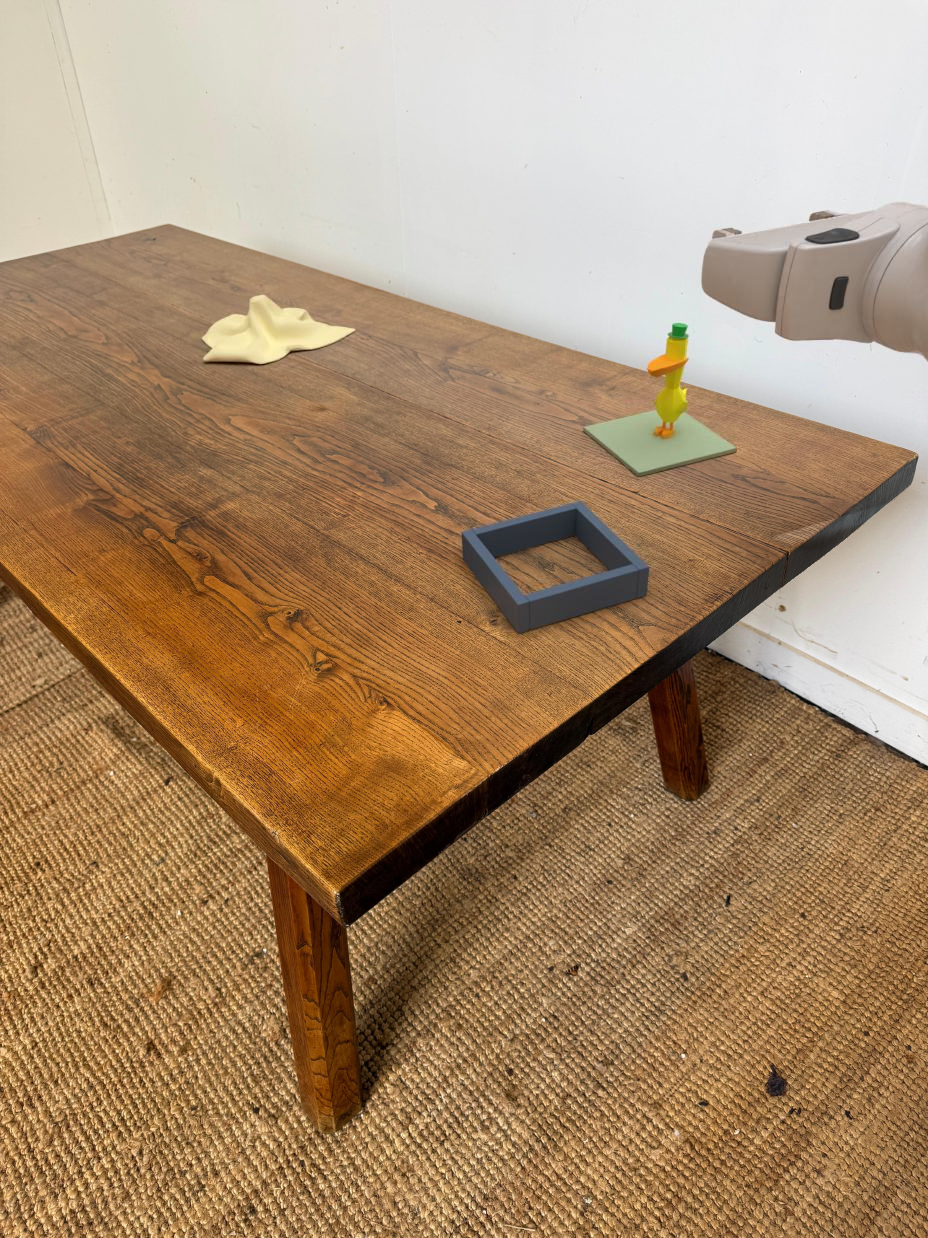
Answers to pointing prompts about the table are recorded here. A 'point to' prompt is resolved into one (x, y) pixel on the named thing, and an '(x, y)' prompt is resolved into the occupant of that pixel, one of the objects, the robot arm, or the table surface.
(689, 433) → the felt mat
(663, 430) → the toy figure
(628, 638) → the table surface
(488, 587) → the open square frame
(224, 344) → the cloth
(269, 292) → the table surface
